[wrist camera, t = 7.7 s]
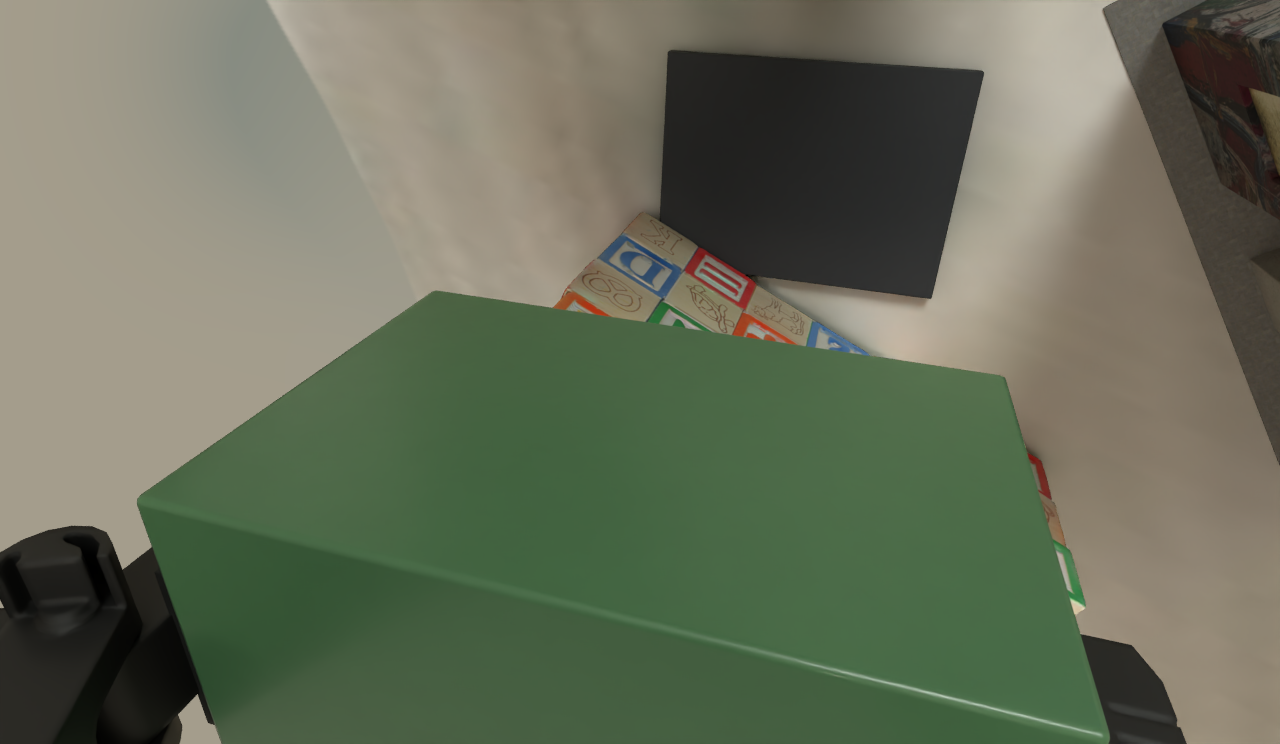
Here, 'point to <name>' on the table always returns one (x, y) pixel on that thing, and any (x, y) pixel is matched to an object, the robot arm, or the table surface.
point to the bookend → (1220, 155)
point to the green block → (621, 546)
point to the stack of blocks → (725, 316)
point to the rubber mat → (816, 166)
